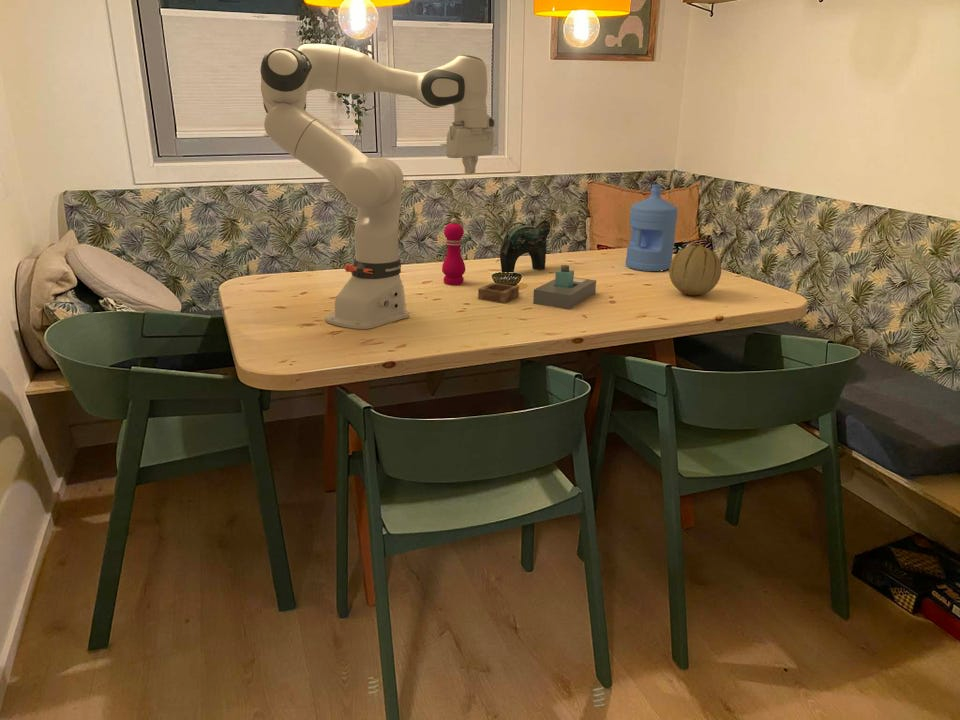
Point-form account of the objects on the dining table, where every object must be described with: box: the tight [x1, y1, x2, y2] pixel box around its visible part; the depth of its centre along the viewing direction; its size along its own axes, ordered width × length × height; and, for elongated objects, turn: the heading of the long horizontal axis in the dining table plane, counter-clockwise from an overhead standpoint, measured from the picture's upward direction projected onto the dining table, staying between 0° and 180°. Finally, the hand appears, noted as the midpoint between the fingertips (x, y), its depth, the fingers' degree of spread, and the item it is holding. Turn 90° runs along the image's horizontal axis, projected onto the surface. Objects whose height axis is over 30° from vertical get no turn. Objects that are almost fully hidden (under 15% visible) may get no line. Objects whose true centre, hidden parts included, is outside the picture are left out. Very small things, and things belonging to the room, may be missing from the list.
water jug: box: [625, 183, 678, 272], centre depth 235 cm, size 16×16×28 cm
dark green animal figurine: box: [499, 210, 551, 273], centre depth 227 cm, size 20×6×20 cm, turn 130°
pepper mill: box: [441, 217, 466, 286], centre depth 211 cm, size 7×7×20 cm
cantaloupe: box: [668, 242, 722, 296], centre depth 204 cm, size 15×15×15 cm
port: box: [532, 276, 597, 310], centre depth 199 cm, size 20×11×4 cm, turn 151°
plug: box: [554, 264, 575, 288], centre depth 198 cm, size 4×4×10 cm
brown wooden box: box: [477, 282, 520, 304], centre depth 198 cm, size 9×9×3 cm
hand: (469, 173), depth 191 cm, fingers closed
